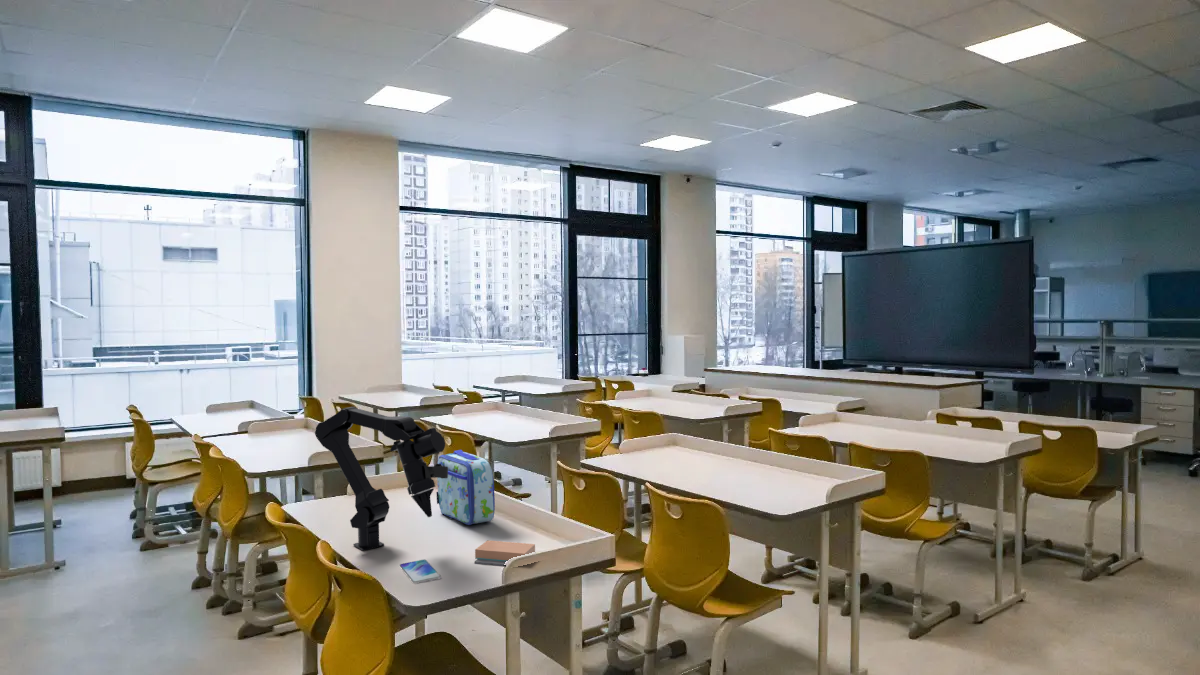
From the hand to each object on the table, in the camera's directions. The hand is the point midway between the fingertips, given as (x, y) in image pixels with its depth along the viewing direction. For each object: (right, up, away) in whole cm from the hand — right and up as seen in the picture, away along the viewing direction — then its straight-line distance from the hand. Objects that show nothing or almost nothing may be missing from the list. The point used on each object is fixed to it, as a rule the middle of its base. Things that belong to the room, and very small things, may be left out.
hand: (430, 516), depth 201 cm
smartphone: (0, -12, -12) cm, 17 cm away
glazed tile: (+14, -9, 0) cm, 17 cm away
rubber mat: (+20, -11, -2) cm, 22 cm away
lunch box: (+3, -9, +36) cm, 37 cm away
